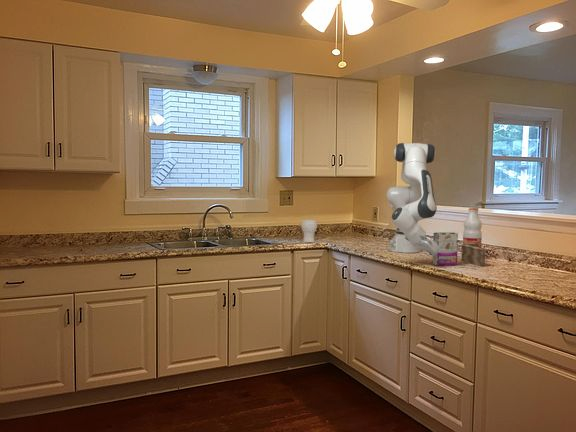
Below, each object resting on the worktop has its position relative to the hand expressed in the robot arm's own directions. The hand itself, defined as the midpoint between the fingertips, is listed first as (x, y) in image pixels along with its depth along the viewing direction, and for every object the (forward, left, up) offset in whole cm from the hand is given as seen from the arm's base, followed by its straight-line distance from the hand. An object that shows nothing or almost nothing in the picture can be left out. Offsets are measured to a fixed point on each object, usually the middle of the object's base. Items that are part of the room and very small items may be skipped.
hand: (433, 254), depth 244 cm
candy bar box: (0, +6, -5) cm, 8 cm away
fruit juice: (-14, +31, -6) cm, 34 cm away
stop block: (-1, +23, -5) cm, 23 cm away
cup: (-98, -38, -5) cm, 105 cm away
